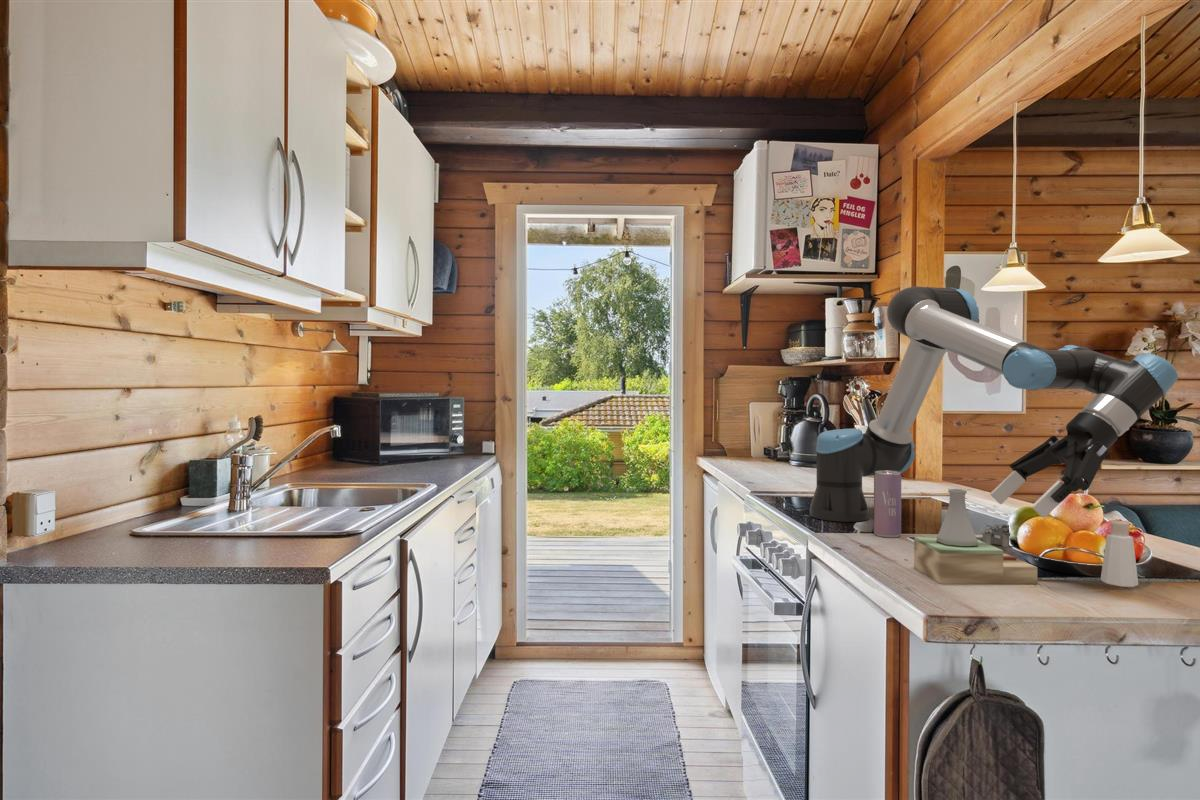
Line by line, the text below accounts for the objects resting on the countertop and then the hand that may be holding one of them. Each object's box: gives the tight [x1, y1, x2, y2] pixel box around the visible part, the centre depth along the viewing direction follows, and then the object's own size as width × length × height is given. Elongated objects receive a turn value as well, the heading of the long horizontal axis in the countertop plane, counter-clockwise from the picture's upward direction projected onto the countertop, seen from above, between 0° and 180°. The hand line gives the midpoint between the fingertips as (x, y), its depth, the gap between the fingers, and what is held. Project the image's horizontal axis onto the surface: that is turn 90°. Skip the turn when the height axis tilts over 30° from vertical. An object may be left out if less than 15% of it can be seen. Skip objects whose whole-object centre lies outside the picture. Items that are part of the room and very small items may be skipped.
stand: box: [913, 536, 1038, 585], centre depth 129 cm, size 11×17×6 cm, turn 89°
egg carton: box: [980, 521, 1010, 548], centre depth 157 cm, size 11×8×4 cm
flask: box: [936, 488, 978, 546], centre depth 129 cm, size 7×7×10 cm
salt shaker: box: [1100, 519, 1139, 588], centre depth 124 cm, size 5×5×11 cm
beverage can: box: [873, 471, 902, 539], centre depth 163 cm, size 6×6×15 cm
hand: (1015, 505), depth 129 cm, fingers open, 13 cm apart
